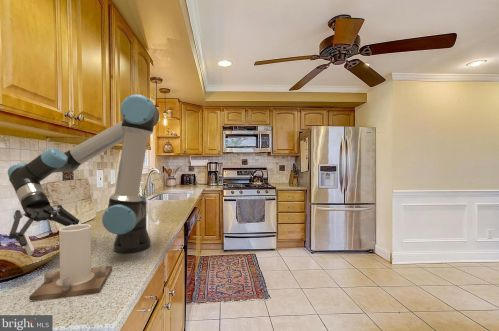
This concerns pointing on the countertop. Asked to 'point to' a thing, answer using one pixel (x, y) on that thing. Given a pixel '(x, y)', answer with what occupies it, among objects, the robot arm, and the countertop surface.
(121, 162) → the robot arm
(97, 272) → the locator plate
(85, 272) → the cup
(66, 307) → the countertop surface
